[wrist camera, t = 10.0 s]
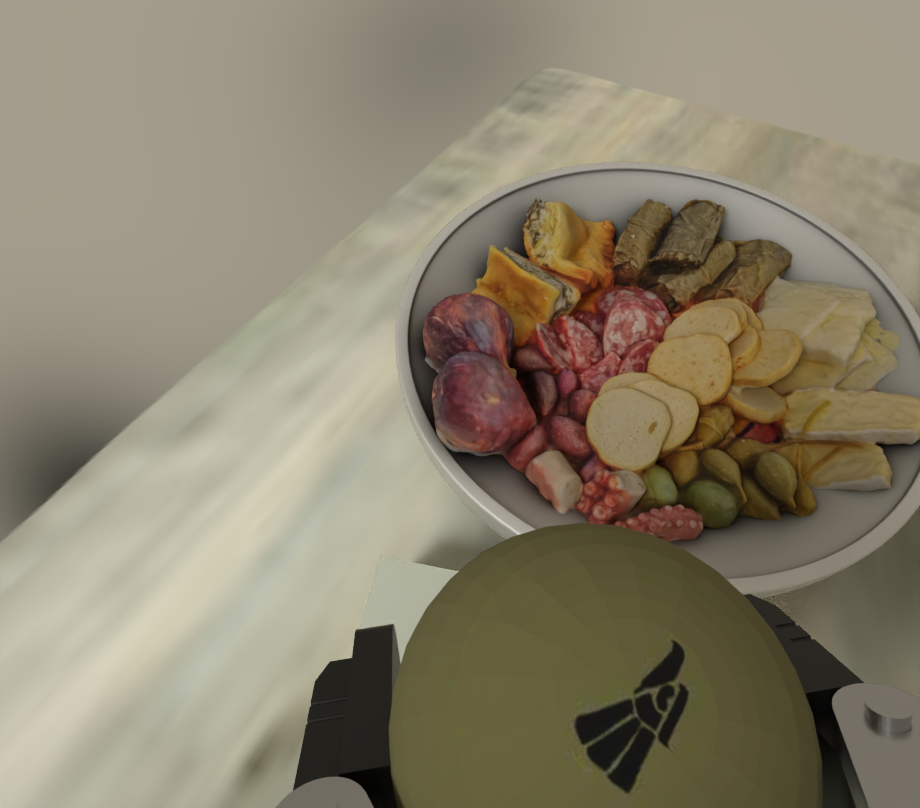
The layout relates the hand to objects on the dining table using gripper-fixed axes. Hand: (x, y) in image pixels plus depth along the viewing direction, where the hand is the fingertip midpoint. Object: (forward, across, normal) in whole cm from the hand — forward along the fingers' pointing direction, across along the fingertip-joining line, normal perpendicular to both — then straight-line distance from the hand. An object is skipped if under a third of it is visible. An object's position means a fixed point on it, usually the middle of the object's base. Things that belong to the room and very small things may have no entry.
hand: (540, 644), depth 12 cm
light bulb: (+2, 0, +4) cm, 5 cm away
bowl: (+27, -12, +1) cm, 30 cm away
